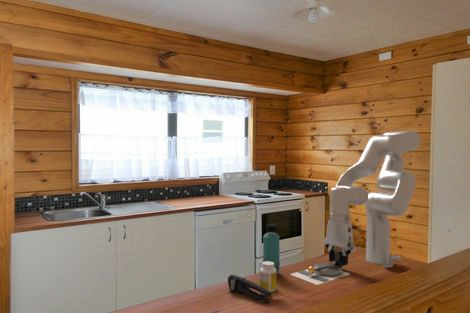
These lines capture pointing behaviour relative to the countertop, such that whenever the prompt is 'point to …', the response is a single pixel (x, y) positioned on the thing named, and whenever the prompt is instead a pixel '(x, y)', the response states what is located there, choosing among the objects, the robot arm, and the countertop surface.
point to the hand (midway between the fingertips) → (338, 262)
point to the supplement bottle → (268, 277)
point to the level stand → (316, 277)
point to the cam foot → (329, 266)
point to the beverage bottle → (271, 247)
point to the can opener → (247, 287)
